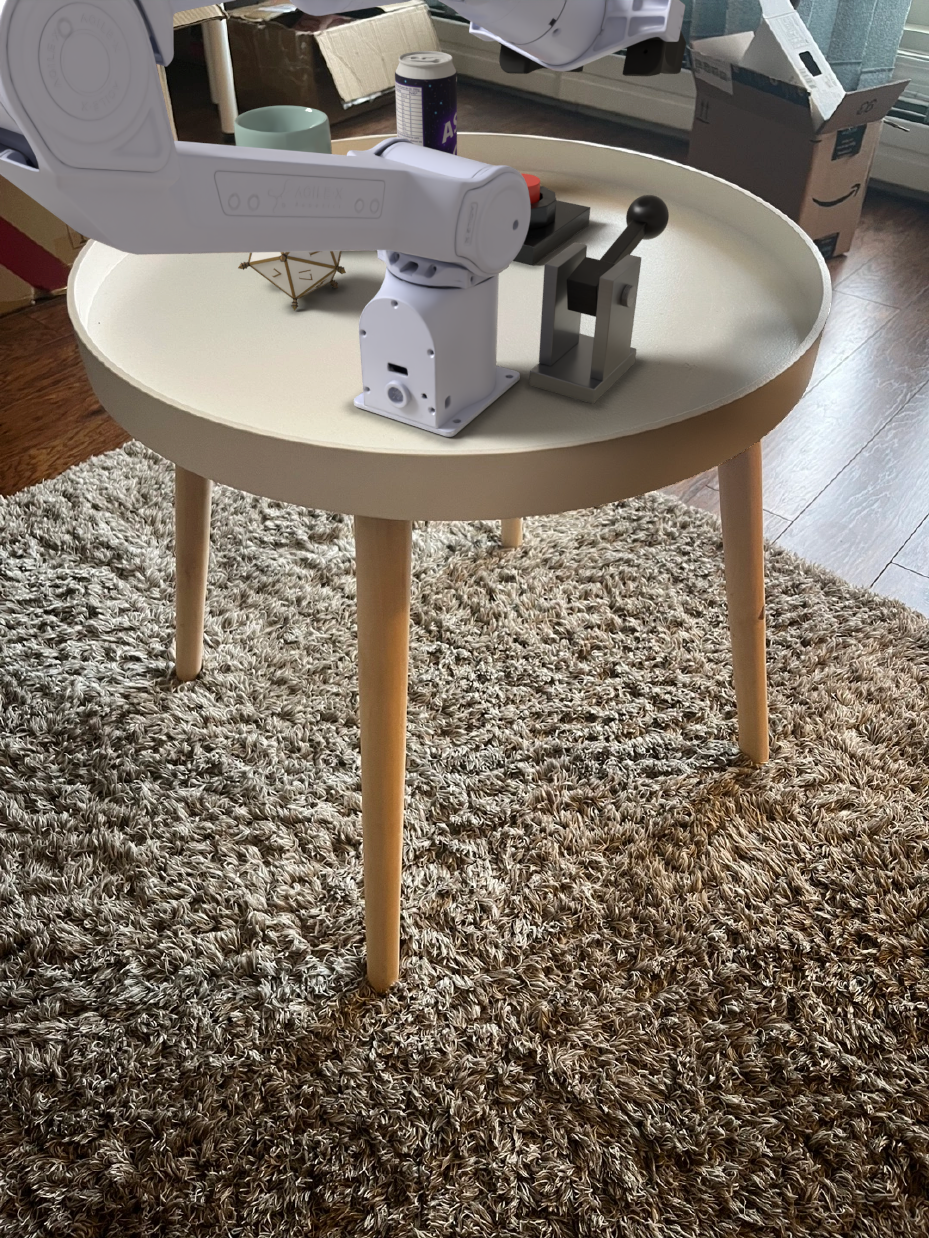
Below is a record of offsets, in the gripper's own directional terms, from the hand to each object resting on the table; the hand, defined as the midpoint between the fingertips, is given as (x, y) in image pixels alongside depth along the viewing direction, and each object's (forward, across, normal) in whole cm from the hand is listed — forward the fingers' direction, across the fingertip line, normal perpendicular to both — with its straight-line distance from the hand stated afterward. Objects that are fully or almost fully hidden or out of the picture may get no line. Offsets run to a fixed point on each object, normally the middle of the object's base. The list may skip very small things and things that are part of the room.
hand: (628, 57), depth 70 cm
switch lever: (-3, -4, +14) cm, 15 cm away
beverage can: (+15, +28, +9) cm, 32 cm away
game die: (-7, +22, +20) cm, 30 cm away
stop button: (+11, +14, +9) cm, 20 cm away
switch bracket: (-4, -3, +22) cm, 22 cm away
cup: (0, +30, +15) cm, 34 cm away
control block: (+12, +14, +12) cm, 22 cm away
